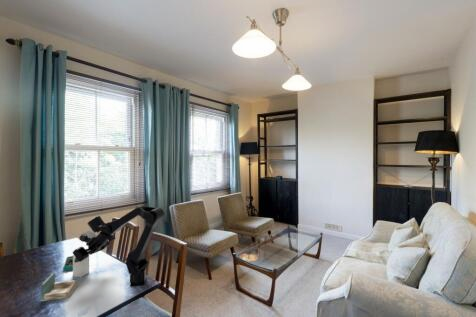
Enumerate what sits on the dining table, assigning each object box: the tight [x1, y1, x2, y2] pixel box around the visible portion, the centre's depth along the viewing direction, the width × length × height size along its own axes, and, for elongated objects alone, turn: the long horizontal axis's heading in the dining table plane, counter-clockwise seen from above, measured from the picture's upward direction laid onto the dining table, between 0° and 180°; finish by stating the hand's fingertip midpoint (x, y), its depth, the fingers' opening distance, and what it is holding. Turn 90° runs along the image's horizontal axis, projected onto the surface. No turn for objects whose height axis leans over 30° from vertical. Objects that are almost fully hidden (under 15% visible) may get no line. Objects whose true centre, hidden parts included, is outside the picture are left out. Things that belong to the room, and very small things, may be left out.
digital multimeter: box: [62, 255, 73, 272], centre depth 132 cm, size 7×15×3 cm, turn 30°
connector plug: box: [72, 247, 90, 278], centre depth 122 cm, size 5×5×13 cm
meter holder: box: [40, 272, 78, 302], centre depth 106 cm, size 10×10×7 cm
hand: (82, 257), depth 122 cm, fingers open, 9 cm apart
